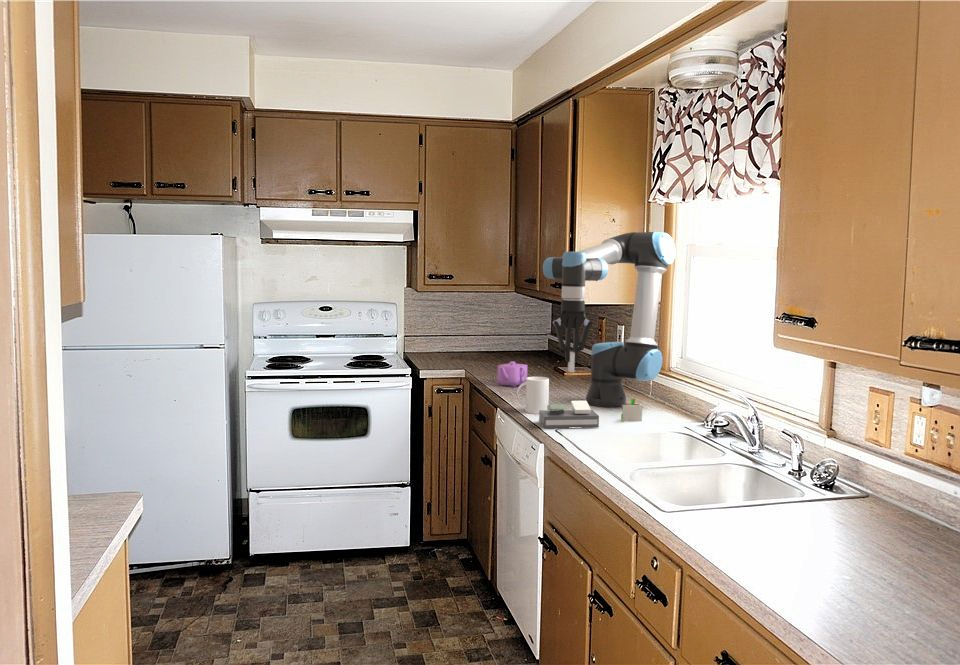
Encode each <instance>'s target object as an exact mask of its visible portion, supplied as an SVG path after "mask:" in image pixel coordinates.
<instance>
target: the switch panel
mask: <svg viewBox="0 0 960 665" xmlns="http://www.w3.org/2000/svg"><path fill="white" fill-rule="evenodd" d="M538 415H539V416H538V422H539V424H540V426H541V427H542V428H543V429H544V430H553V429H555V428H558V429H570V428H569V427H599V428H600V426H599V425H600V416H599V414H597V413H596V412H595V411H594V410H593V409H591V414H575V413H574V410H573V409H563V410H539V414H538Z"/></svg>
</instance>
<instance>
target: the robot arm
mask: <svg viewBox="0 0 960 665" xmlns="http://www.w3.org/2000/svg"><path fill="white" fill-rule="evenodd" d="M675 246H676V245H675V242H674V239H673V238H672V237H671V235H670V234H668V233H667V232H661V231H646V232H645V231H643V232H640V231H639V232H635V231H634V232H633V231H632V232H626V233H622V234H619V235H616V236H613V237H609V238H607V239H604V240H603V241H602V242H601V243H600V244H597V245H594V246H591V247H588V248H584V249H581V250H578V251H565V252H563V254H562V256H559V257H558V256H552V257H547V258H546V259H545V260H544V261H543V264H542V272H543V275H544V277H546V278H547V279H548V280H549V279H551V280H554V281H555V280H561V281H562V282H561V298H562V300H561V302H560V303H561V304H560V314H559V318H557V319H556V320H553V321H552V324H553V327H554V328H555V332H556V337H557V341H558V342H557V343H558V346H559V349H560V350H562V351H564V352H565V353H564V355H565V356H564V357H565V358H564V360H565V363H566V362H567V372H569V373H575V364H576V363H577V362H578V361H579V360H578V359H579V357H578V356H579V352H581V351H583V350H584V349H585V344H586V342H587V336H588V334H589V330H590V328H591V326H592V325H593V322H592V321H591V320H589V319H587V317H586V316H587V315H585V314H586V313H585V311H586V310H585V307H586V305H585V304H586V302H585V300H584V299H585V298H586V282H587V281H589V282H591V281H592V282H598V281H602V280H604V279H605V278H606V277H607V276H608V273H609V266H608V265H615V264H634V269H635V270H636V272H637V277H636V278H637V279H636V287H635V293H634V294H635V296H634V302H633V303H634V304H633V312H632V317H631V318H632V319H631V320H632V321H631V326H630V334H629V336H630V337H629V338H628V339H626V340H625V342H624V343H623V341H607V342H606V341H605V342H599V343H594V344H593V345H592V346H591V354H590V357H591V359H590V360H591V361H590V371H591V372H590V385H589V387H588V390H587V392H586V396H585V401H587V403H588V405H589V406H595V407H603V408H604V407H606V408H608V407H609V408H612V407H614V408H615V407H617V408H618V407H623V406H622V404H627V396H626V392H625V388H624V385H623V379H627V380H628V379H629V380H636V381H640V382H643V381H644V382H650V381H652V380H654V379H656V377H658V375H659V374H660V371H661V369H662V367H663V361H664V360H663V353H662V352H661V351H660V350H659V349H658V348H659V347H658V346H659V344H658V343H657V342H656V341H655V336H656V326H657V317H658V311H659V310H658V309H659V302H660V301H659V300H660V295H661V294H660V293H661V284H662V277H663V274H665V273H666V272H667V270H668V266H669V265H670V266H671V265H672V264H673V263H674V260H675V258H676V247H675ZM561 324H563V326H564V327H565V339H564V338H563V333H562V329H561ZM582 325H584V326H583V327H582V328H583V329H582V333H581V335H580V336H581V337H580V336H579V332H580V327H581V326H582ZM572 333H573V334H572ZM572 335H573V336H572ZM572 337H573V339H572ZM579 338H580V339H579ZM564 340H565V342H564ZM571 340H572V346H571ZM571 347H572V351H571Z"/></svg>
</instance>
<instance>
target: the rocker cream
mask: <svg viewBox="0 0 960 665" xmlns="http://www.w3.org/2000/svg"><path fill="white" fill-rule="evenodd" d="M570 406H571V408H572V410H574V413H575V414H591V410H592V409H591V407H590V404H588V403H587V401H586V400H571V401H570Z"/></svg>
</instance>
